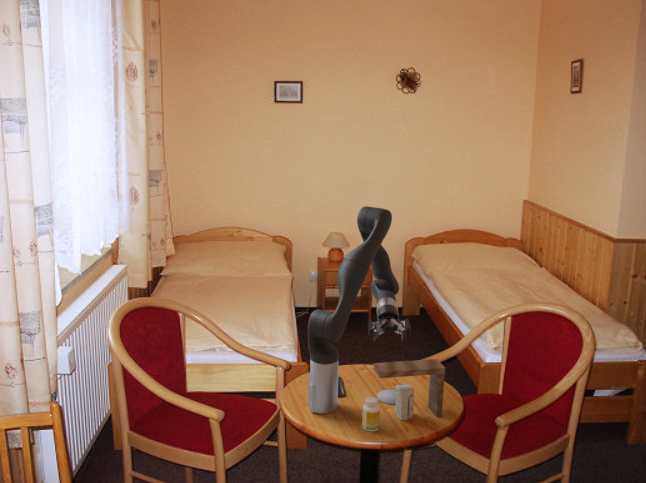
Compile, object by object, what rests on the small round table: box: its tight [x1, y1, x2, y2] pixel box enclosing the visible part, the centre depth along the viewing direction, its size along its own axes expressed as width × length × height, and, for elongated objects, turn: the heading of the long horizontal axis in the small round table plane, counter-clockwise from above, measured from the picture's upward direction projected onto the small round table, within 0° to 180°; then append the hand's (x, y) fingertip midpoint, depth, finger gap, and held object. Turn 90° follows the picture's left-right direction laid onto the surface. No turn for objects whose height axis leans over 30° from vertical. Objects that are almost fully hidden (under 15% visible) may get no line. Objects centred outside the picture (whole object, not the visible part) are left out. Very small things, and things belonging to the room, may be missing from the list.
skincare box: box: [394, 383, 415, 421], centre depth 198 cm, size 5×4×10 cm
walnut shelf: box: [373, 358, 446, 418], centre depth 198 cm, size 22×7×17 cm, turn 102°
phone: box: [338, 375, 346, 398], centre depth 218 cm, size 8×1×15 cm
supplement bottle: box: [361, 396, 381, 433], centre depth 190 cm, size 5×5×10 cm
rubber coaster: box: [376, 389, 396, 406], centre depth 211 cm, size 10×10×1 cm
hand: (390, 340), depth 205 cm, fingers open, 8 cm apart
